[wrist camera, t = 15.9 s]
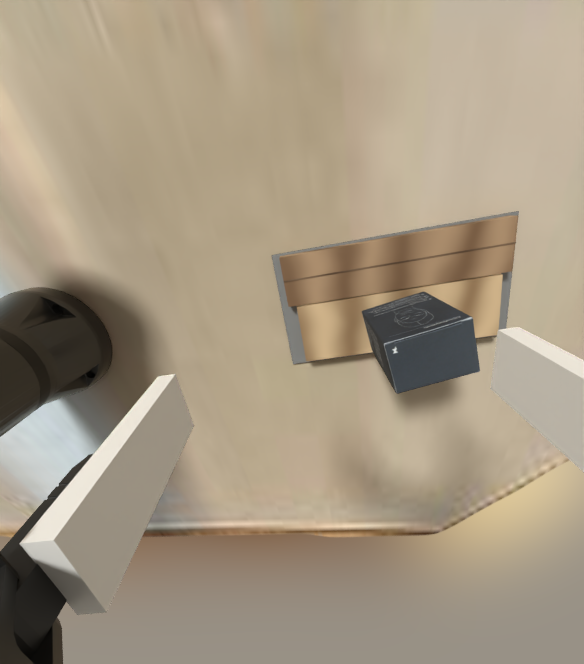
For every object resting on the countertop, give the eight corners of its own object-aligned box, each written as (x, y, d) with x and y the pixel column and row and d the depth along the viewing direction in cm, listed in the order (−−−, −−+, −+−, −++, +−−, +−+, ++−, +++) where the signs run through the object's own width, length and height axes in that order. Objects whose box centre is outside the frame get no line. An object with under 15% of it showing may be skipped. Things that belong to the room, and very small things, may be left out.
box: (371, 350, 37) (395, 395, 27) (360, 309, 35) (381, 343, 25) (433, 332, 36) (482, 373, 26) (425, 289, 34) (474, 316, 24)
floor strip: (289, 303, 37) (288, 307, 35) (280, 256, 35) (279, 258, 33) (503, 269, 34) (512, 271, 33) (508, 215, 32) (518, 215, 30)
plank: (306, 356, 39) (306, 361, 38) (296, 302, 37) (296, 305, 35) (490, 330, 37) (498, 334, 35) (494, 270, 34) (502, 272, 33)
